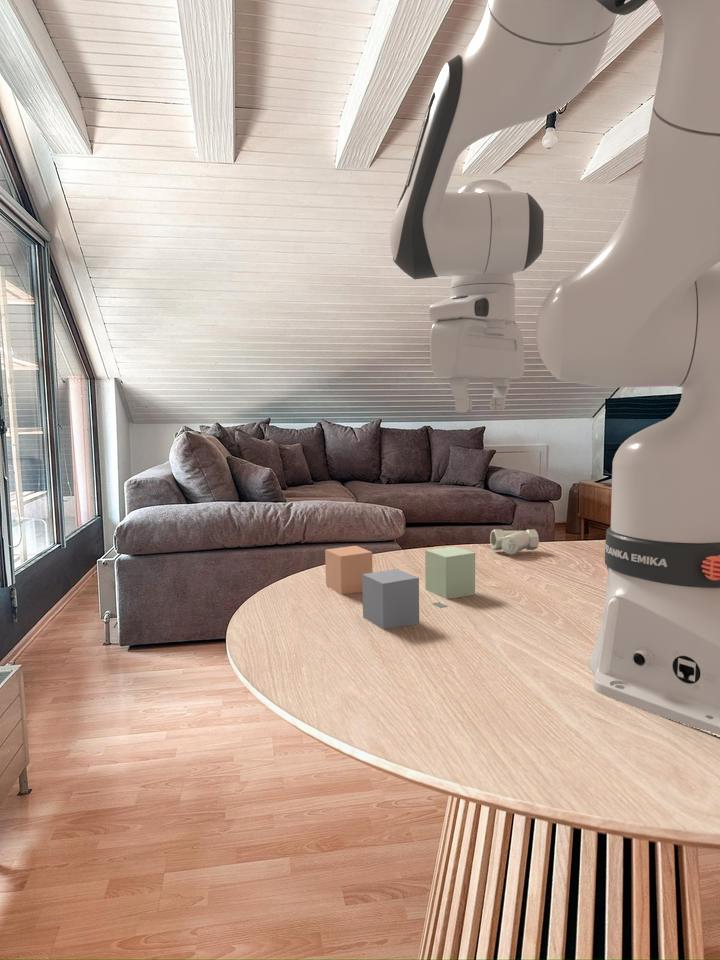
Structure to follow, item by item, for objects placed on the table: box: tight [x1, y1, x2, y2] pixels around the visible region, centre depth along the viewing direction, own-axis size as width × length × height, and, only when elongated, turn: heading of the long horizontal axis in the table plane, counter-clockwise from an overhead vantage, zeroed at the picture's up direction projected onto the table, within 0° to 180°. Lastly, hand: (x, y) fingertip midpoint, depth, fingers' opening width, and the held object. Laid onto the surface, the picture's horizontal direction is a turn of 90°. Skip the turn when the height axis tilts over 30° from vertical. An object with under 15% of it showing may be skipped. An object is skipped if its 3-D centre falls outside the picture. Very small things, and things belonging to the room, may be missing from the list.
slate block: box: [362, 568, 420, 630], centre depth 78 cm, size 5×5×6 cm
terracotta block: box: [324, 545, 373, 595], centre depth 92 cm, size 5×5×6 cm
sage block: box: [424, 546, 476, 600], centre depth 91 cm, size 5×5×6 cm
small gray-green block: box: [431, 601, 449, 609], centre depth 85 cm, size 2×1×1 cm, turn 28°
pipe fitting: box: [489, 528, 540, 555], centre depth 116 cm, size 8×4×7 cm
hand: (481, 411), depth 90 cm, fingers open, 8 cm apart
